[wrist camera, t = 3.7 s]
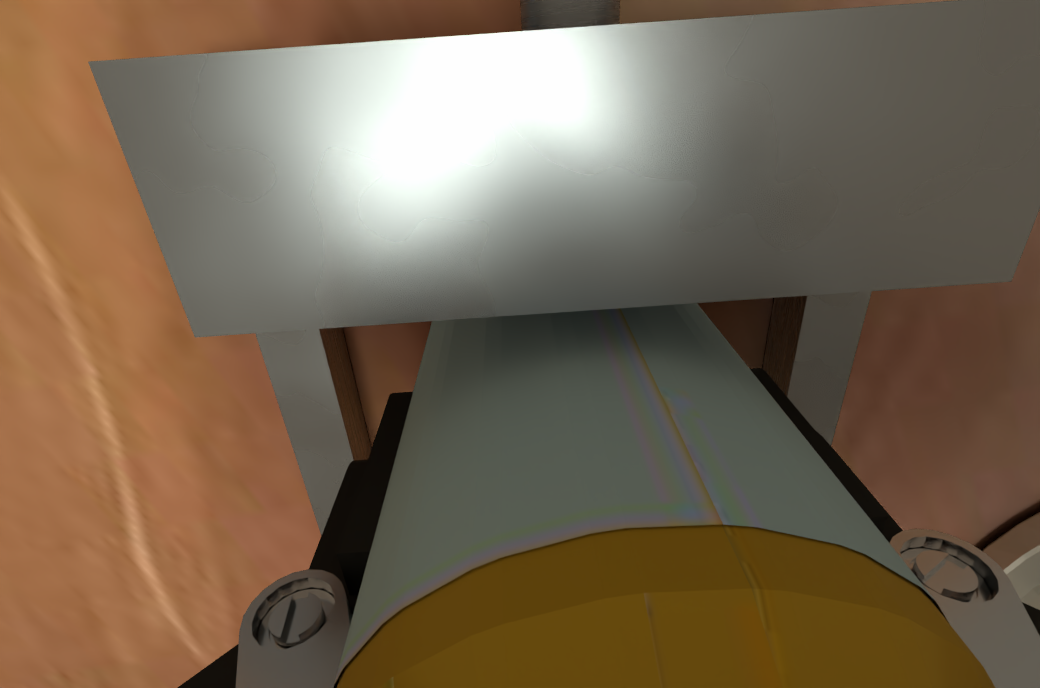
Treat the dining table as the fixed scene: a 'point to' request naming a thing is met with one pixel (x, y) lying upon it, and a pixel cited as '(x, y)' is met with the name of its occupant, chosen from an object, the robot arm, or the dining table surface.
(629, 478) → the bottle
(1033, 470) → the dining table surface
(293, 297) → the vise
